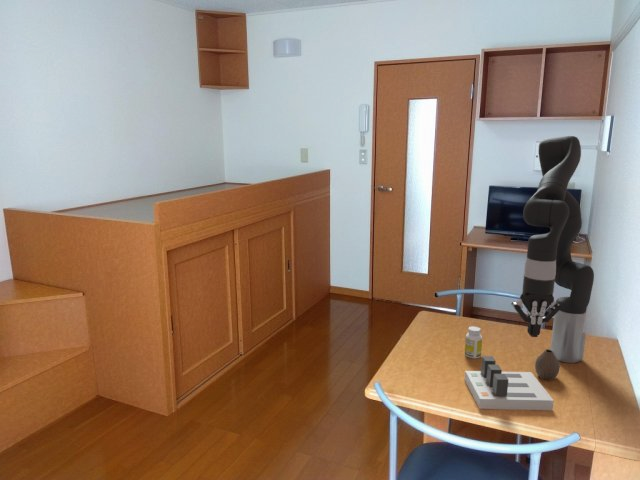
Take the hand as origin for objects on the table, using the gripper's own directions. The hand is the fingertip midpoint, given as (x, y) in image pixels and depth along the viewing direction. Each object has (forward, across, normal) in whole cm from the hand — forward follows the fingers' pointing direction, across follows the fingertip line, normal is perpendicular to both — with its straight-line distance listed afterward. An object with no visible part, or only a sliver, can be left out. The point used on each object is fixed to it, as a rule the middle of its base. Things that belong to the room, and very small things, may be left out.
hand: (533, 335), depth 132 cm
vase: (+21, -12, -16) cm, 29 cm away
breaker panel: (+21, +4, -5) cm, 22 cm away
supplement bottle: (+21, +7, -30) cm, 38 cm away
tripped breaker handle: (+17, +8, 0) cm, 19 cm away
